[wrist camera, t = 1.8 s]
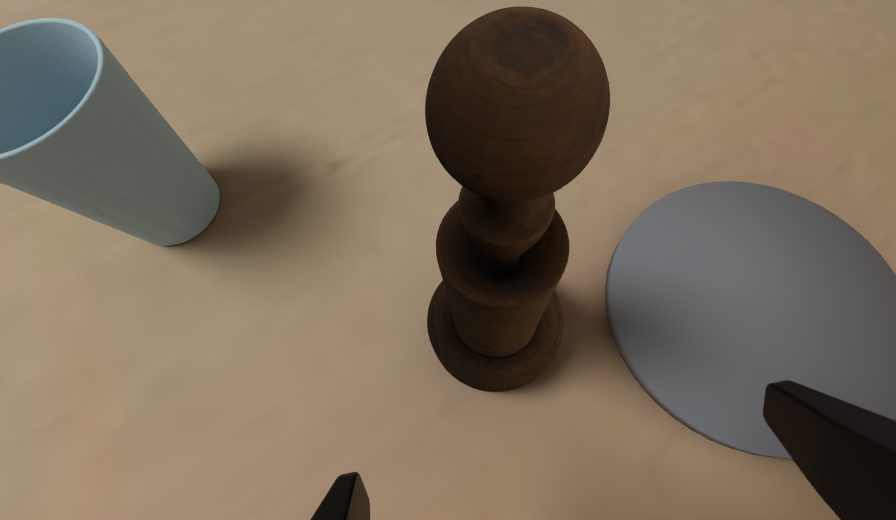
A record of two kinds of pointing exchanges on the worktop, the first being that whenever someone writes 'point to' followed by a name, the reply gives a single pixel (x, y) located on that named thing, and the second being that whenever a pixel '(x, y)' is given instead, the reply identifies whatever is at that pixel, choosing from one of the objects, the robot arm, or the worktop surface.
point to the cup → (94, 137)
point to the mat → (750, 308)
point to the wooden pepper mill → (509, 187)
